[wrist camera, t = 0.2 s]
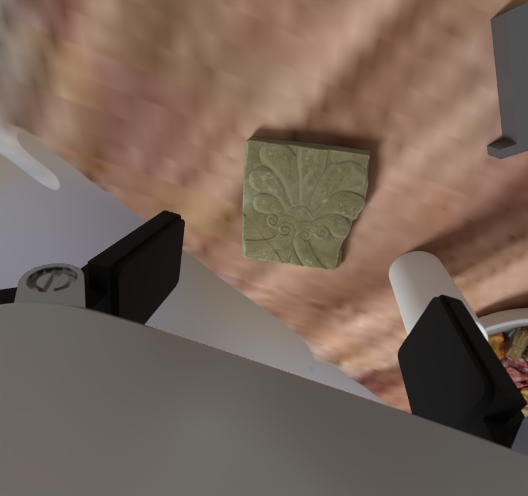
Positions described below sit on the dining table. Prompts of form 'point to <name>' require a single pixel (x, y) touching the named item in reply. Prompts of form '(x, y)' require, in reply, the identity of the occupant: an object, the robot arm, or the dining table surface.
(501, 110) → the grey t-shaped block
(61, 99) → the dining table surface
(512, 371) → the bowl
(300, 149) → the decorative tile
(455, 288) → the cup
